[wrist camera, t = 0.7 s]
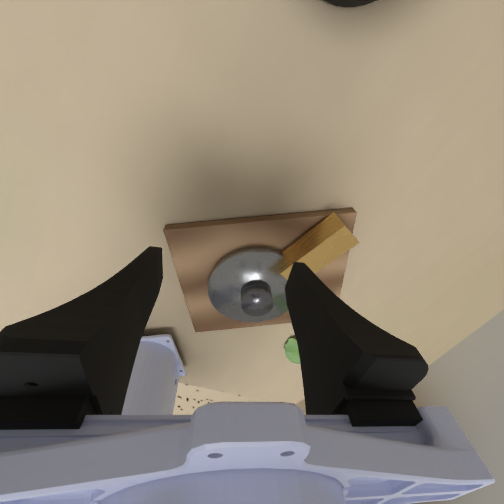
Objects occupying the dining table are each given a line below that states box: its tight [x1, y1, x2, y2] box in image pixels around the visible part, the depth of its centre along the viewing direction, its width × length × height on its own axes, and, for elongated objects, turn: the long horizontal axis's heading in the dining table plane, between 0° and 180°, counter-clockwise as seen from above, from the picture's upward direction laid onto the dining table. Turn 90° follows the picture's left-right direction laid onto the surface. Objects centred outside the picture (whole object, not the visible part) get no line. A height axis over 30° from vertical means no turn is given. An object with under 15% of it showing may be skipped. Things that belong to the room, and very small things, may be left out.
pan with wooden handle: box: [208, 212, 359, 322], centre depth 24 cm, size 16×10×3 cm, turn 134°
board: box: [164, 208, 357, 332], centre depth 26 cm, size 15×18×4 cm
